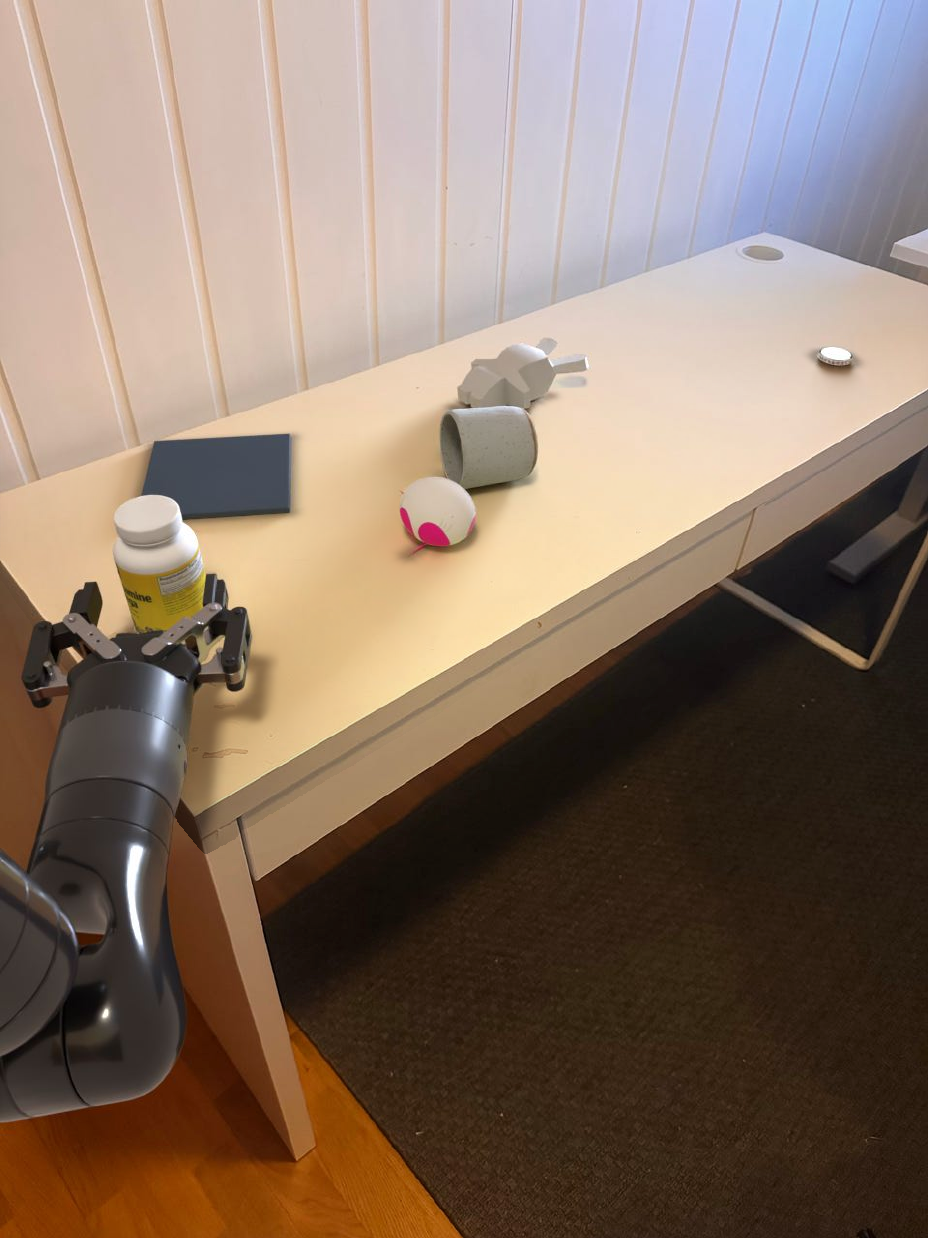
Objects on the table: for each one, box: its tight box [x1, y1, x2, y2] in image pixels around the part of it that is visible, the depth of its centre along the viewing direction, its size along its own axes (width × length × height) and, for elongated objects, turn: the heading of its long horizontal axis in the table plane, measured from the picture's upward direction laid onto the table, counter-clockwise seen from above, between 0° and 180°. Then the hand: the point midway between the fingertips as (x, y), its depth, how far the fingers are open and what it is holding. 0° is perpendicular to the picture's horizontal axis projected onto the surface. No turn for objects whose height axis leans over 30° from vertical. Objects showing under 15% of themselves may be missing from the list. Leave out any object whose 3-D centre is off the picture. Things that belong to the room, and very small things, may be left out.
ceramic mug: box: [438, 405, 539, 490], centre depth 88 cm, size 11×8×8 cm
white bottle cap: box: [817, 346, 854, 366], centre depth 111 cm, size 4×4×1 cm
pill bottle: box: [112, 495, 208, 646], centre depth 69 cm, size 6×6×11 cm
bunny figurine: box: [456, 337, 590, 410], centre depth 102 cm, size 10×5×15 cm
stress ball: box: [398, 475, 477, 555], centre depth 80 cm, size 8×8×7 cm
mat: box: [140, 433, 292, 520], centre depth 89 cm, size 14×14×1 cm
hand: (154, 586), depth 66 cm, fingers open, 8 cm apart
